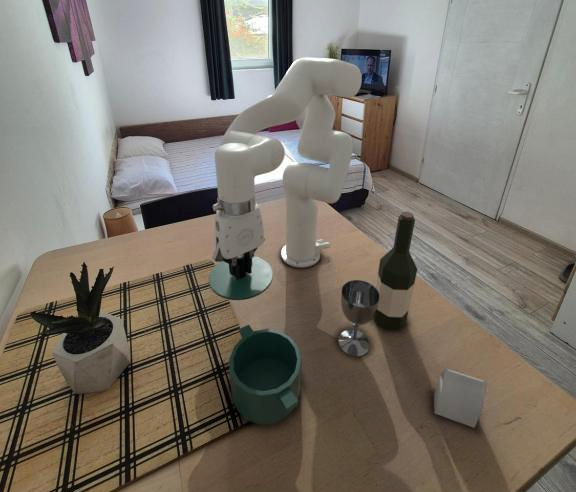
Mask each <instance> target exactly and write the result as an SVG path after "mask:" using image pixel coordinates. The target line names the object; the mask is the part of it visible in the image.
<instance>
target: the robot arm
mask: <svg viewBox="0 0 576 492" xmlns="http://www.w3.org/2000/svg"><path fill="white" fill-rule="evenodd" d="M361 86H362V72H361V70H360V68H359V67H358V66H357V65H356V64H353V63H349V62H347V61H345V60H341V59H337V58H325V57H323V58H322V57H321V58H320V57H301V58H298V59H296V60H294V61H293V63H292V64H291V66H290V67H289V68H288V70H287V71H286V73H285V74H284V76H283V78H282V79H281V80H280V82H279V83H278V85H277V87H275V89H274V90H273V92H272V94H271V95H269V96H267V97H265V98H263V99H261V100H260V101H257V102H255V103H254V104H252V105H251V106H249V107H247V108H246V109H244V110H243V111H241V112H240V113H239V114H238V115H237V116H236V117H235V119H234V120H233V121H232V122H231V124H230V125H229V127H228V128H227V130H226V131H225V133H224V135H223V137H222V139H221V142H220V146H218V147H217V148H216V149H215V151H214V166H215V167H214V168H215V176H216V177H215V178H216V188H217V198H216V200H217V202H216V203H215V204H212V210H213V212H216V214H215V218H214V245H215V249H214V251H213V255H212V259H213V260H214V262H216V263H220V262H222V261H224V262H226V263H228V264H229V272H230V274H231V275H232V276H234V277H235V278H236V279H237V280H238V279H239V278H240V270H239V264H238V263H237V256H239V255H241V254H244V253H245V255H246V272H247V273H248V274H250V273H252V258H253V257H254V256H255V253H256V251H257V250H258V248H259V247H261V246H262V245H263V244H264V242H265V240H266V238H265V233H264V232H265V231H264V223H263V217H262V212H261V210H260V205H259V204H258V203H257V202H256V188H255V187H256V186H255V184H256V183H255V178H256V177H257V176H261V175H264V174H265V175H266V174H269V173H272V172H274V171H275V170H277V169H278V168H279V167H280V166H281V165H282V163H283V162H284V160H285V155H286V154H285V153H286V152H285V151H286V150H285V147H284V145H283V143H282V142H281V141H280V140H278V139H277V138H274V137H271V136H266V135H261V134H257V133H259V132H261V131H263V130H265V129H267V128H271V127H275V126H280V125H284V124H288V123H292V122H294V121H297V120H299V119H300V118H301V117H302V115H303V114H304V112H305V110H306V114H305V117H304V121H303V125H302V128H301V131H300V135H299V138H298V143H297V153H298V155H299V156H300V157H301V158H303V159H306V160H310V161H315V162H318V163H323V164H327V165H328V164H329V167H324V166H320V165H316V164H312V163H308V162H302V161H295V162H291V163H289V164H288V165H286V167H285V168H284V170H283V173H282V185H283V191H284V195H285V245H283V246H282V248H281V250H280V257H281V259H282V261H283V262H284V263H285V264H287V265H289V266H291V267H295V268H308V267H312V266H314V265H315V264H317V263H318V262H319V260H320V259H321V251H322V250H326V249H330V248H331V243H330V242H329V241H325V242H324V239H323V238H322V239H317V232H318V231H317V230H318V229H317V228H318V210H319V209H318V204H317V202H322V203H326V204H335V203H336V202H338V201H339V199H340V198H341V195H342V193H343V190H344V186H345V183H346V180H347V175H348V172H349V168H350V165H351V161H352V158H353V152H354V141H353V138H352V136H351V135H350V134H349V133H347V132H345V131H340V130H334V129H333V128H334V124H335V120H336V110H335V107H334V105H333V103H332V101H331V99H329V97H328V96H330V97H341V98H353V97H355V96H356V95H357V94H358V93H359V91H360V89H361Z"/></svg>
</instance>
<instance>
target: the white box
mask: <svg viewBox="0 0 576 492" xmlns="http://www.w3.org/2000/svg"><path fill="white" fill-rule="evenodd" d="M487 382H488V381H487V380H483V379H480V378H478V377H474V376H471V375H468V374H464V373H462V372H458V371H455V370H452V369H449V368H445V367H444V369H443V371H442V372H441V373H440V374H439V378H438V381H437V383H436V387H435V391H434V394H433V403H434V405H433V407H434V414H435V415H438V416H440V417H443V418H446V419H449V420H451V421H454V422H457V423H459V424H463V425H465V426H468V427H471V428H473V429H475V428H476V425H477V423H478V420H479V418H480V416H481V414H482V411H483V408H484V404H485V397H486V396H485V395H486V390H487V385H488V383H487Z"/></svg>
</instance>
